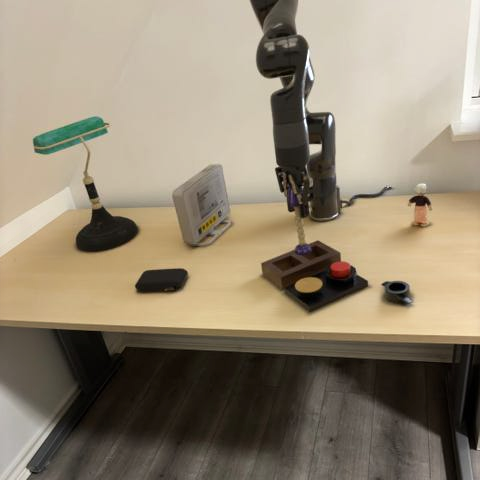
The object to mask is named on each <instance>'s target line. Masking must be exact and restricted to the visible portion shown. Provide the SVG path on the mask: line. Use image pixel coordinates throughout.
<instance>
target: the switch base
mask: <svg viewBox="0 0 480 480" xmlns="http://www.w3.org/2000/svg"><path fill="white" fill-rule="evenodd" d="M357 273H358V272H357V269H356V267H355V266H353V265H351V264H350V274H349V275H348V276H345V277H334V276H332V275H331V267H329V268H328V269H327V270H325V271H322V272H320V273H318V274H315V275H313V276H311V277H314V278H318V279H320V280H321V281H322V283H323V285H322V287H321V288H320V289H319V290H317V291H315V292H310V293H303V292H299V291H298V290H296V288H295V284H296V283H294V284H292V285H290V286H287V287H285V288H284V290H283V292H284V294H285V295H286V296H288V297H289V298H290V299H291V300H293V302H296V303H297V304H298V305H299V306H301V307H302V308H304V309H305V310H306V311H307V312H308V313H313V312H314V311H317V310H319V309H321V308H323V307H326V306H327V305H330V304H332V303H334V302H337V301H339V300H341V299H343V298H345V297H347V296H350V295H352V294H354V293H357V292H359V291H361V290H363V289H365V288H368V287H369V281H368V280H367V279H365V278H364V277H362V276H360V275H359V274H357Z"/></svg>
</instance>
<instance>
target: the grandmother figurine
mask: <svg viewBox="0 0 480 480" xmlns="http://www.w3.org/2000/svg"><path fill="white" fill-rule="evenodd" d="M427 189H428V187H427V185H426V183H419V184H417V185H416V186H415V188H414V193H415V194H416V195H414V196H412V197H411V198H409V199H408V203H407V207H411V206H412V204H414V209H413V210H414V212H413V217H414V218H413V220H414V222H413V226H419V225H420V227H423V228H424V227H427V226H430V222H429V221H428V217H427V214H428V212H427V211H429V212H430V211H431V212H432V211H433V206H432V202H431V201H430V199H429V197H428V196H426V193H427ZM427 208H428V209H427Z"/></svg>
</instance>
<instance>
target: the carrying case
mask: <svg viewBox="0 0 480 480" xmlns="http://www.w3.org/2000/svg"><path fill="white" fill-rule="evenodd" d="M188 275H189V272H188V271H187V270H186V269H185V268H182V267H180V268H177V267H176V268H159V269H147V270H144V271H143V272H142V274H141V275H140V277H139V278H138V279H137V281H136V283H135V285H134V288H135V289H136V291H139V292H160V291H161V292H163V291H164V292H169V291H177V290H180V289H181V288H182V287H183V285H184V283H185V282H186V279H187V277H188Z"/></svg>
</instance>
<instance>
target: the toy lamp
mask: <svg viewBox="0 0 480 480" xmlns="http://www.w3.org/2000/svg"><path fill="white" fill-rule="evenodd" d="M302 188H303V186H302V187H299V188H298V190H299V189H302ZM301 196H302V198H303V192H302V193H301ZM287 204H288V205H289V206H293V207H294V209H295V211H294V215H295V217H294V219H295V227H296V233H297V238H298V244H297V245H296V246H295V248H294V250H295V254H297V255H307V254H309V253H310V252H311V251H312V249H311V247H310V245H308V244H309V243H307V240H306V234H305V228H304V221H303V220H304V219H302V218H300V213H299V202H298V198H297V195H296V194H294V191H293V187H292V186H290V187H289V190H288V199H287V198H286V205H287Z"/></svg>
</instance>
